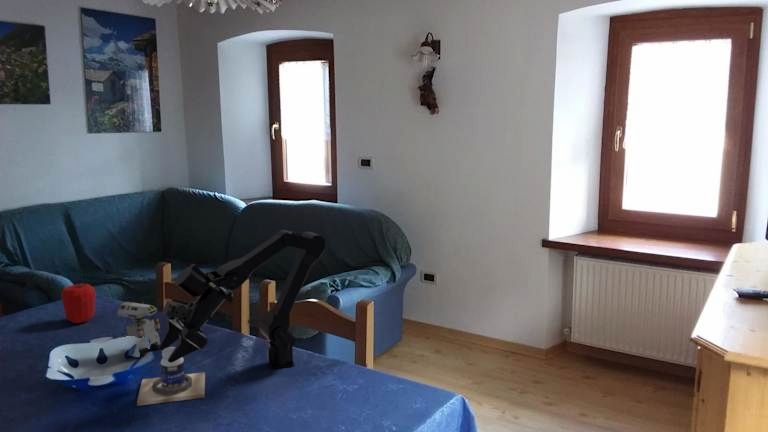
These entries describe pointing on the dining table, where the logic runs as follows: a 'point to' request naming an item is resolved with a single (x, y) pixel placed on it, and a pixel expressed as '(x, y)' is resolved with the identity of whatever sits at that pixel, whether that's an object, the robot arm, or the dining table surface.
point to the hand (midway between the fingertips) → (164, 355)
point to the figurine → (140, 322)
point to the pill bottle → (171, 371)
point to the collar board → (171, 390)
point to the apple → (78, 302)
